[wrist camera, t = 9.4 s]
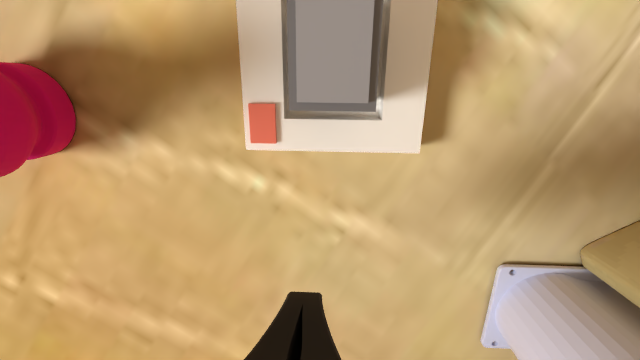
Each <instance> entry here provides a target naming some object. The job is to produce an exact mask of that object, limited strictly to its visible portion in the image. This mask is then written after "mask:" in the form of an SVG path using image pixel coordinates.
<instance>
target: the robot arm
mask: <svg viewBox="0 0 640 360" xmlns="http://www.w3.org/2000/svg"><path fill="white" fill-rule="evenodd" d="M511 270H513V271H512V272H510V271H511ZM481 343H482V345H483V346H484V347H487V348H508V349H512V351H513V352H514V354H515V355H516V357H517V359H518V360H640V308H639V307H638V306H636V305H635V304H634V303H632V302H631V301H630V300H628V299H627V298H626V297H624V296H623V295H622V294H620V293H619V292H617V291H616V290H615V289H613V288H612V287H611V286H609V285H608V284H607V283H605V282H604V281H603V280H601V279H600V278H598V277H597V276H596V275H594V274H593V273H592V272H590V271H589V270H588V269H586V268H585V267H575V266H545V265H514V264H503V265H500V266H499V267H498V269H497V272H496V276H495V281H494V285H493V289H492V293H491V298H490V302H489V306H488V311H487V315H486V319H485V323H484V328H483V332H482V336H481ZM244 360H341V358H340V355H339V353H338V351H337V349H336V346H335V344H334V341H333V339H332V336H331V333H330V330H329V327H328V324H327V321H326V318H325V314H324V310H323V304H322V295H321V294H320V293H312V292H290V293H289V294H288V295H287V298H286V300H285V302H284V304H283V305H282V307H281V309H280V311H279V312H278V314H277V316H276V317H275V319H274V320H273V322H272V323H271V325H270V326H269V328H268V329H267V331H266V332H265V334H264V335H263V336H262V338H261V339H260V340H259V342H258V343H257V344H256V346H255V347H254V348H253V349H252V351H251V352H250V353H249V354H248V355H247V357H246V358H245V359H244Z"/></svg>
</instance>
